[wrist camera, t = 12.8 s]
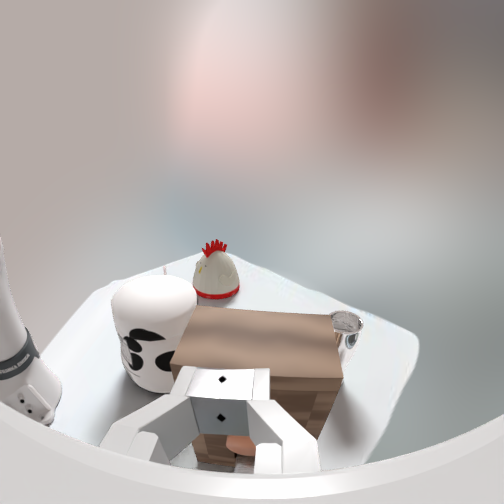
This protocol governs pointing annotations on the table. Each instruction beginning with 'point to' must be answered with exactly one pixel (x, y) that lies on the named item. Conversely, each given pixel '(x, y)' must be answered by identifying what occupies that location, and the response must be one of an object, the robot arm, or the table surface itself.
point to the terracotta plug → (241, 445)
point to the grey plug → (244, 464)
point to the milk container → (152, 327)
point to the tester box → (265, 363)
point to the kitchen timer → (215, 273)
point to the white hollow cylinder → (346, 334)
